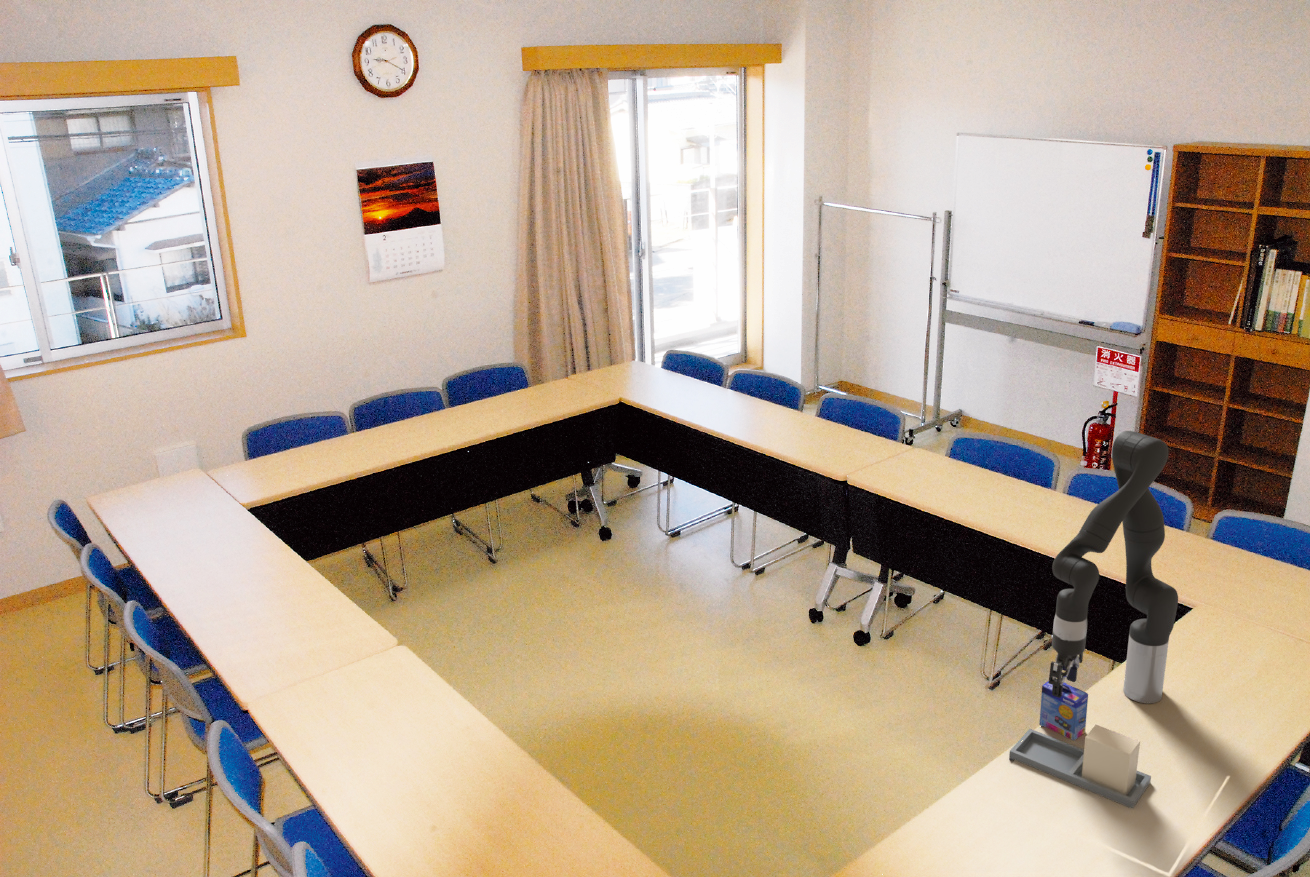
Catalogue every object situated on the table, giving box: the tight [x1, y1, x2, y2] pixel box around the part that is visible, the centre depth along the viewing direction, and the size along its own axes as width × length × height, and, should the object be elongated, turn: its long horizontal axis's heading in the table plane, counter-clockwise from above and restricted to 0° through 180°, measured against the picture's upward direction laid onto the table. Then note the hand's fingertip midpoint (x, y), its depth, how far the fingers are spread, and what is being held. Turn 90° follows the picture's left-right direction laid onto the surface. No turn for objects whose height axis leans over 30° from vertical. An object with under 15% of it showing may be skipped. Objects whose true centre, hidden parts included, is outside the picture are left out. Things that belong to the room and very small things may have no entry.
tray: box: [1008, 728, 1152, 810], centre depth 247 cm, size 11×29×2 cm, turn 47°
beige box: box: [1082, 724, 1141, 796], centre depth 240 cm, size 6×10×12 cm, turn 47°
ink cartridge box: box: [1039, 680, 1089, 741], centre depth 259 cm, size 10×6×14 cm, turn 38°
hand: (1064, 688), depth 258 cm, fingers open, 8 cm apart
